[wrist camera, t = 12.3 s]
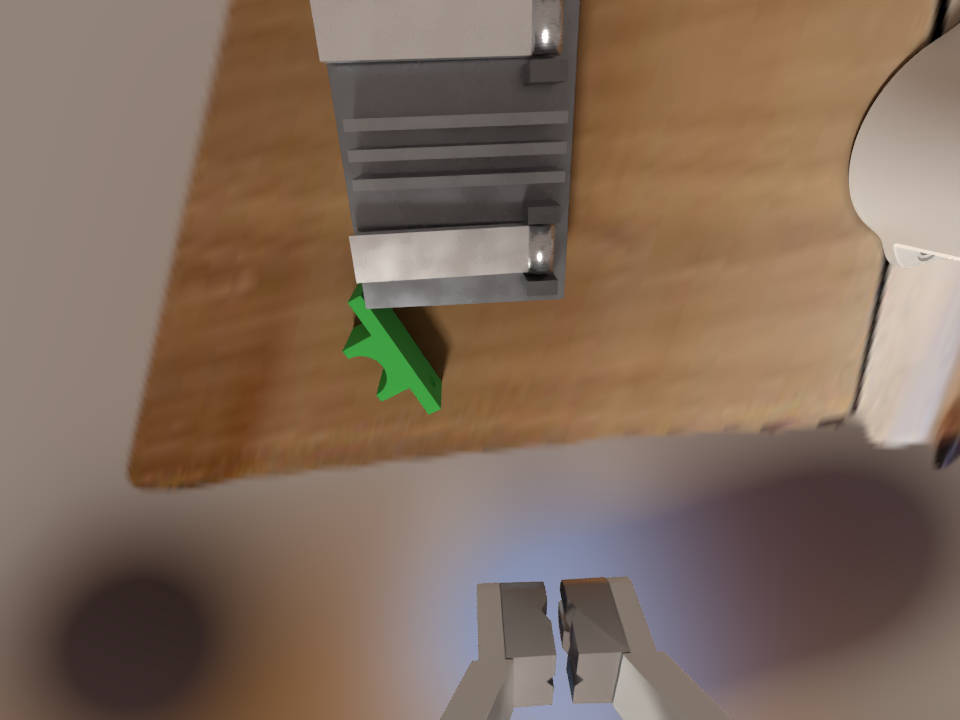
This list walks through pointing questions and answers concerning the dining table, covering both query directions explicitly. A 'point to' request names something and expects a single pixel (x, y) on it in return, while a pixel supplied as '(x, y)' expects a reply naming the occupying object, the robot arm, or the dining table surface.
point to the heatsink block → (460, 158)
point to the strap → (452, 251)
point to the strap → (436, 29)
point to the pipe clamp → (392, 354)
